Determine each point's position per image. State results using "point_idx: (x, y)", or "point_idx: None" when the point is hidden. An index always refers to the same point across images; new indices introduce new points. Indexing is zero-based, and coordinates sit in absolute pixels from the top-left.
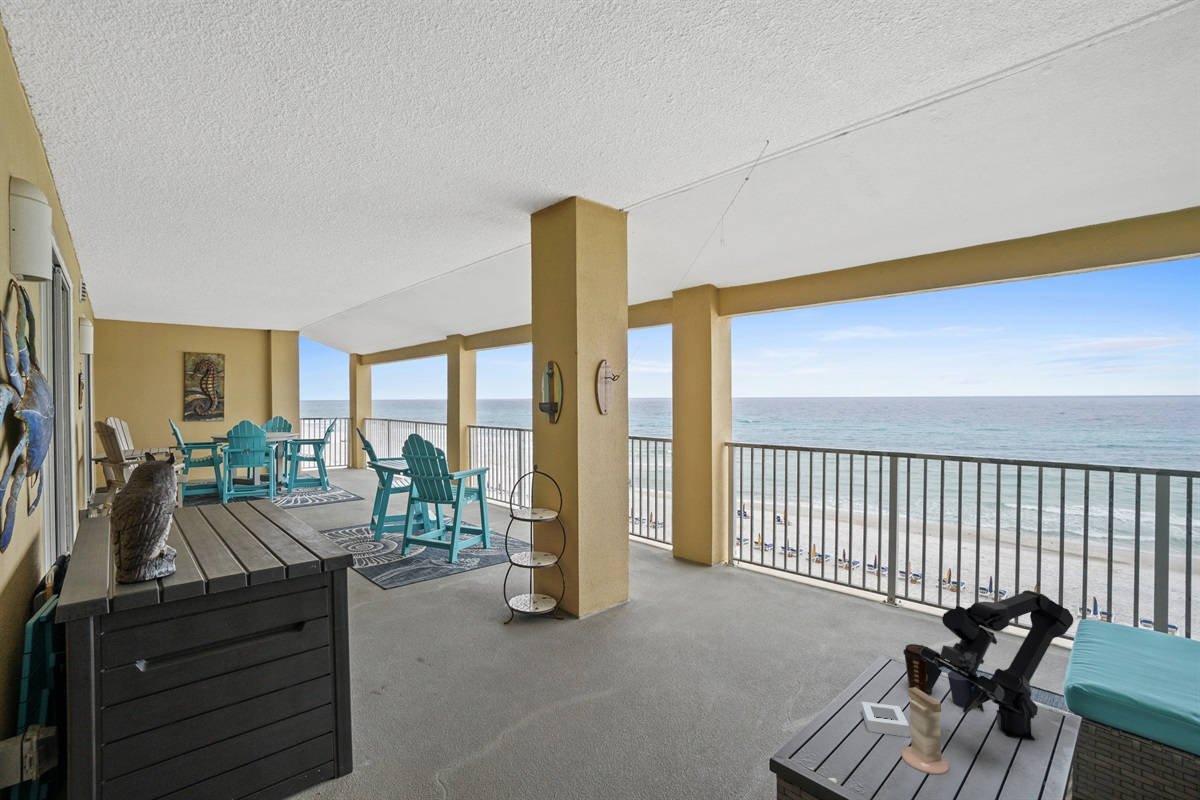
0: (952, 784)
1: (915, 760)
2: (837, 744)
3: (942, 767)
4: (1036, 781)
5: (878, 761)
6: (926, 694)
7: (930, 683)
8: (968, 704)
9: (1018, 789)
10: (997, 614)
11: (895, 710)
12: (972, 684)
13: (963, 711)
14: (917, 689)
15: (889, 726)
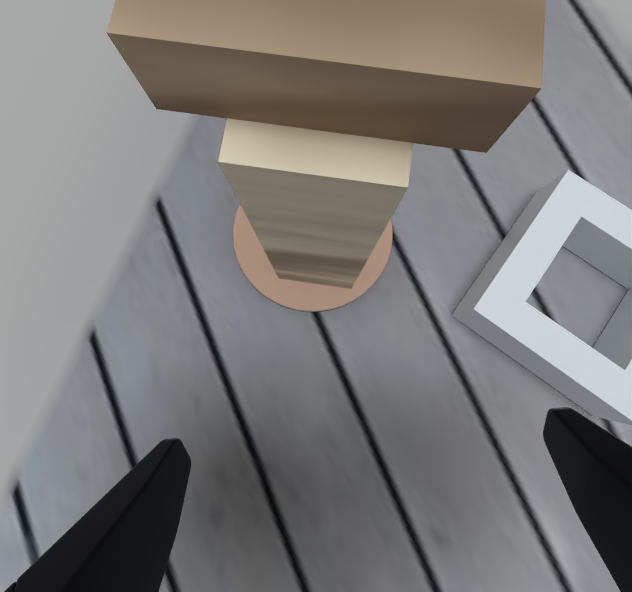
0: (185, 209)
1: None
2: None
3: (248, 244)
4: (50, 529)
5: None
6: (339, 60)
7: (618, 481)
8: (96, 515)
9: (60, 404)
10: None
11: (610, 368)
12: None
13: (172, 439)
14: (483, 66)
15: (510, 245)
